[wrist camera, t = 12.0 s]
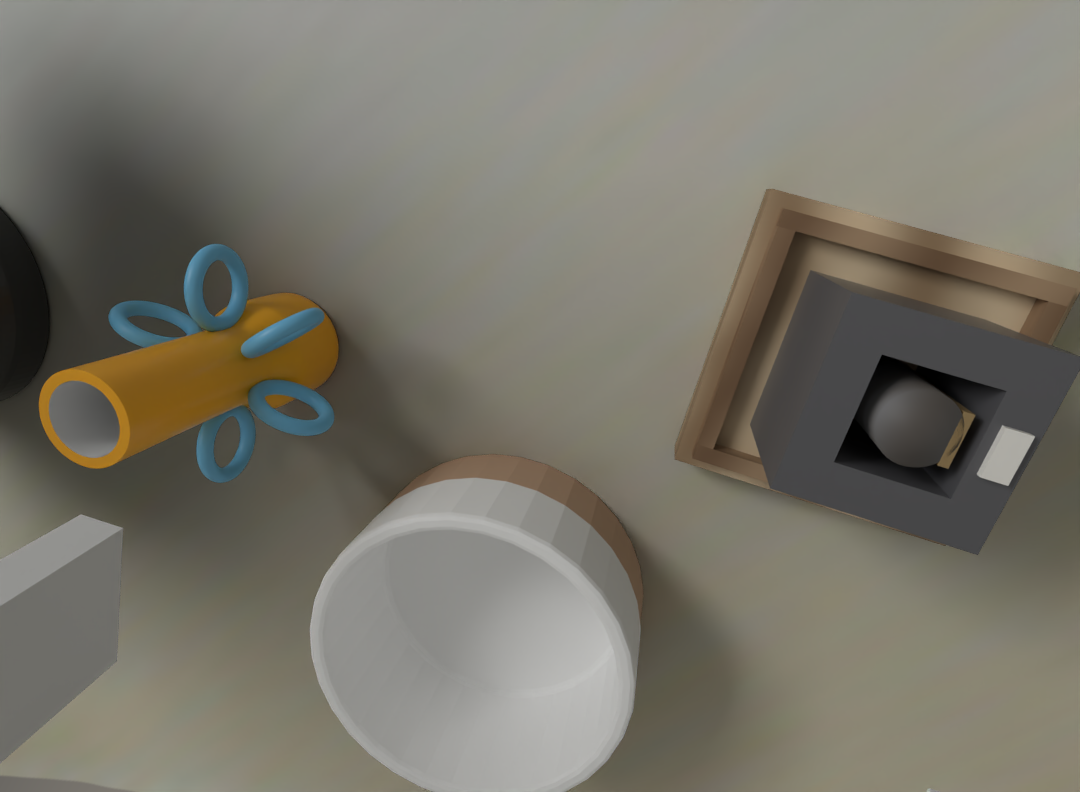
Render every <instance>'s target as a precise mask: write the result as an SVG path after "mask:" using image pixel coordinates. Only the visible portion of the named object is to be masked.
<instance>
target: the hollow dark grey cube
mask: <svg viewBox="0 0 1080 792" xmlns="http://www.w3.org/2000/svg"><path fill="white" fill-rule="evenodd" d="M881 355H885V356H889V357H892V358H895V359H899V360H902V361H906V362H909V363H913V364H916V365H918V367H917V369H916V372H917V373H918V374H920V375H921V376H922V377H924V378H925V379H927V380H928V381H929V382H931V383H932V384H934V385H935V386H936V387H938V388H939V389H940V390H942V391H943V392H945V393H946V394H947V395H949V396H950V397H951V398H953V399H954V400H956V401H957V402H958V403H960V404H961V405H962V406H964V407H965V408H967V409H968V410H969V411H971V412H972V413H974V414H975V417H974V419H973V421H972V423H971V425H970V427H969V429H968V431H967V433H966V435H965V437H964V439H963V441H962V443H961V445H960V447H959V449H958V451H957V453H956V455H955V457H954V459H953V461H952V463H951V465H950V467H949V468H948V469H947V468H944V467H941V466H937V465H936V464H933V465H930V466H926V467H906V466H902V465H899V464H897V463H895V462H893V461H891V460H890V459H888V458H887V457H886V456H885V455H884V454H883V453H882V452H881V450H880V449H879V448H878V447H877V445H876V444H875V443H874V442H873V441H872V439H871V438H870V437H869V436H868V434H867V433H866V432H865V431H864V429H863V428H862V427H861V426H860V424H859V423H858V422H857V421H856V420H854V419H853V418H854V416H855V414H856V411H857V409H858V407H859V405H860V402H861V400H862V398H863V396H864V394H865V391H866V389H867V387H868V385H869V382H870V380H871V378H872V376H873V373H874V371H875V369H876V367H877V364H878V362H879V360H880V358H881ZM1079 370H1080V356H1077V355H1075V354H1072V353H1070V352H1067V351H1065V350H1062V349H1060V348H1057V347H1054V346H1052V345H1049V344H1047V343H1044V342H1042V341H1039V340H1036V339H1034V338H1031V337H1029V336H1026V335H1024V334H1021V333H1019V332H1016V331H1013V330H1011V329H1008V328H1006V327H1003V326H1001V325H998V324H996V323H993V322H990V321H988V320H985V319H982V318H978V317H975V316H971V315H968V314H964V313H961V312H957V311H954V310H950V309H946V308H943V307H939V306H936V305H932V304H929V303H925V302H922V301H918V300H915V299H911V298H908V297H904V296H901V295H897V294H894V293H890V292H886V291H883V290H879V289H876V288H872V287H869V286H865V285H862V284H858V283H855V282H851V281H848V280H844V279H841V278H837V277H834V276H830V275H826V274H823V273H819V272H816V271H812V270H810V272H809V275H808V277H807V280H806V283H805V285H804V288H803V290H802V293H801V295H800V298H799V300H798V303H797V305H796V308H795V311H794V313H793V316H792V318H791V321H790V323H789V326H788V328H787V331H786V333H785V336H784V339H783V341H782V344H781V346H780V349H779V351H778V354H777V356H776V359H775V361H774V364H773V367H772V369H771V372H770V374H769V377H768V379H767V382H766V384H765V387H764V389H763V392H762V395H761V397H760V400H759V402H758V405H757V407H756V410H755V412H754V415H753V417H752V420H751V423H750V426H751V429H752V433H753V436H754V439H755V442H756V445H757V448H758V452H759V455H760V458H761V461H762V464H763V467H764V471H765V474H766V477H767V480H768V483H769V486H770V489H774V490H777V491H780V492H783V493H786V494H789V495H792V496H795V497H798V498H802V499H805V500H808V501H811V502H814V503H817V504H820V505H823V506H827V507H830V508H833V509H836V510H839V511H842V512H845V513H848V514H851V515H855V516H858V517H861V518H864V519H867V520H870V521H873V522H876V523H880V524H883V525H886V526H889V527H892V528H895V529H898V530H901V531H904V532H908V533H911V534H914V535H917V536H920V537H923V538H926V539H929V540H933V541H936V542H939V543H942V544H945V545H948V546H951V547H954V548H957V549H961V550H964V551H967V552H970V553H973V554H976V555H978V553H979V552H980V550H981V548H982V546H983V544H984V543H985V541H986V539H987V537H988V535H989V534H990V532H991V530H992V528H993V526H994V524H995V523H996V521H997V519H998V517H999V515H1000V514H1001V512H1002V510H1003V508H1004V506H1005V504H1006V503H1007V501H1008V499H1009V497H1010V495H1011V494H1012V492H1013V490H1014V488H1015V486H1016V485H1017V483H1018V481H1019V479H1020V477H1021V475H1022V474H1023V472H1024V470H1025V468H1026V466H1027V465H1028V463H1029V461H1030V459H1031V457H1032V456H1033V454H1034V452H1035V450H1036V448H1037V446H1038V445H1039V443H1040V441H1041V439H1042V437H1043V436H1044V434H1045V432H1046V430H1047V428H1048V426H1049V425H1050V423H1051V421H1052V419H1053V417H1054V416H1055V414H1056V412H1057V410H1058V408H1059V407H1060V405H1061V403H1062V401H1063V399H1064V397H1065V396H1066V394H1067V392H1068V390H1069V388H1070V387H1071V385H1072V383H1073V381H1074V379H1075V378H1076V376H1077V374H1078V372H1079Z"/></svg>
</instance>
